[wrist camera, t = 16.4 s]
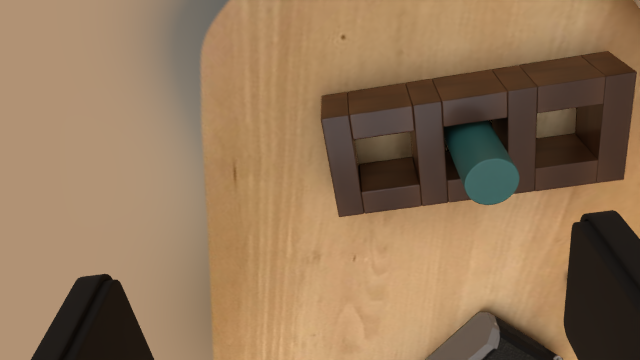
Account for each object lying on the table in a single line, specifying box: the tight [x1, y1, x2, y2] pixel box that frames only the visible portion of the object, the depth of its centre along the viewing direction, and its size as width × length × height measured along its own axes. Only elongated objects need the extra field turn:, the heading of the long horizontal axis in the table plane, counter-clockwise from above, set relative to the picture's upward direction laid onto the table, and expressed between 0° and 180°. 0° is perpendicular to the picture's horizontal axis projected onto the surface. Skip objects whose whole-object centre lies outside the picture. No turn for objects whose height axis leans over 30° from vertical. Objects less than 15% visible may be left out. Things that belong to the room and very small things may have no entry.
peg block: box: [321, 51, 637, 217], centre depth 38 cm, size 19×8×4 cm, turn 100°
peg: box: [443, 120, 519, 205], centre depth 36 cm, size 3×3×8 cm
